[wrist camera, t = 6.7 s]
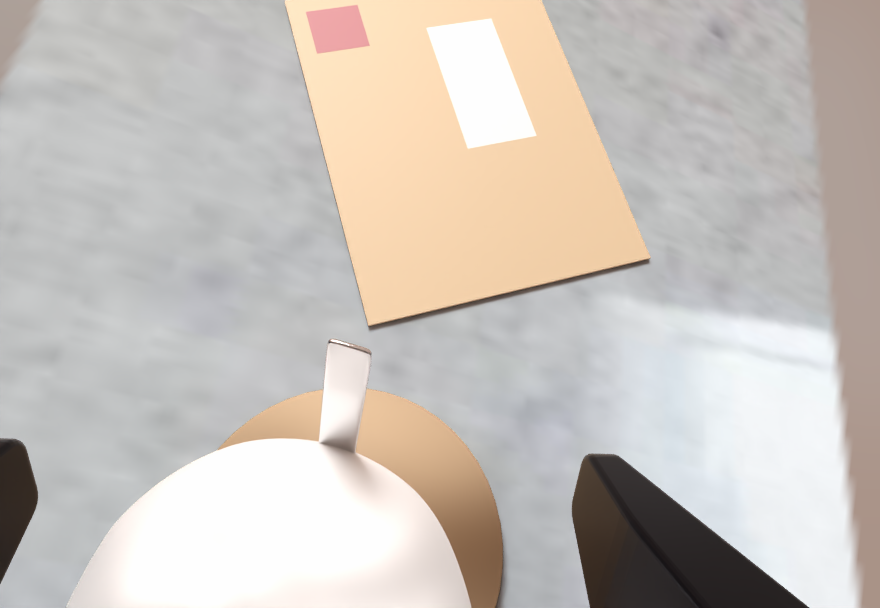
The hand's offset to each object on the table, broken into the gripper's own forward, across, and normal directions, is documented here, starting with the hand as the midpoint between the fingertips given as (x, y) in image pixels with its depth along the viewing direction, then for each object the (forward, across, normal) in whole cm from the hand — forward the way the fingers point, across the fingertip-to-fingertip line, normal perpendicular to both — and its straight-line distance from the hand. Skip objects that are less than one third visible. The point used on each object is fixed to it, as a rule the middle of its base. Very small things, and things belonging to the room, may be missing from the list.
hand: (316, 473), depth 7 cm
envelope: (+14, -3, -2) cm, 14 cm away
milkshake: (+4, 0, +7) cm, 8 cm away
